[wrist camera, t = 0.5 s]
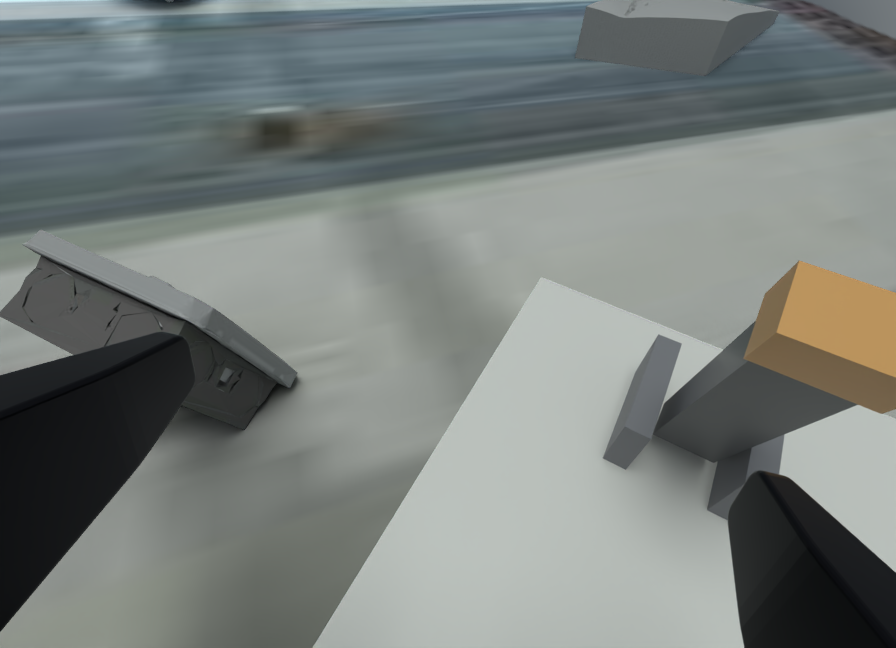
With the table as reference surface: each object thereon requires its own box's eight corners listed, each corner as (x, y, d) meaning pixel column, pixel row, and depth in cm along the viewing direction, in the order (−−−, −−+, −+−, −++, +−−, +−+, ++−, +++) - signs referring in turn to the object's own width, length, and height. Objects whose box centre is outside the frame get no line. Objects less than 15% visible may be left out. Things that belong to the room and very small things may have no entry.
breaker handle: (717, 471, 19) (939, 393, 9) (644, 436, 20) (776, 332, 10) (732, 427, 20) (953, 312, 10) (660, 395, 21) (799, 260, 11)
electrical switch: (304, 379, 26) (237, 268, 18) (243, 465, 23) (135, 380, 16) (174, 319, 28) (65, 198, 21) (105, 391, 26) (-48, 285, 18)
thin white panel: (847, 1179, 12) (1116, 1491, 7) (288, 720, 17) (233, 728, 12) (864, 452, 24) (970, 391, 19) (532, 311, 29) (551, 236, 24)
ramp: (720, 2, 63) (741, -48, 58) (824, 52, 54) (857, -4, 50) (537, 36, 55) (546, -20, 51) (623, 99, 46) (642, 38, 42)
